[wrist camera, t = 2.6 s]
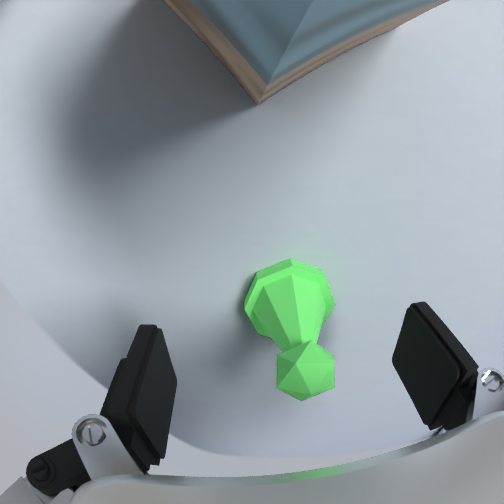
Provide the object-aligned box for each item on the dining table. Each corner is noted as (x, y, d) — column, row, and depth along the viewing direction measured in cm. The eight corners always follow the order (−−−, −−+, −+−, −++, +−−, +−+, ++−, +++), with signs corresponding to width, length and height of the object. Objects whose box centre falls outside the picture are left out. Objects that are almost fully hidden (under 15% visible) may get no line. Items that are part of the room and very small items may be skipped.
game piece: (335, 256, 13) (387, 337, 8) (326, 329, 15) (358, 419, 10) (242, 260, 13) (242, 351, 8) (245, 334, 15) (247, 431, 9)
